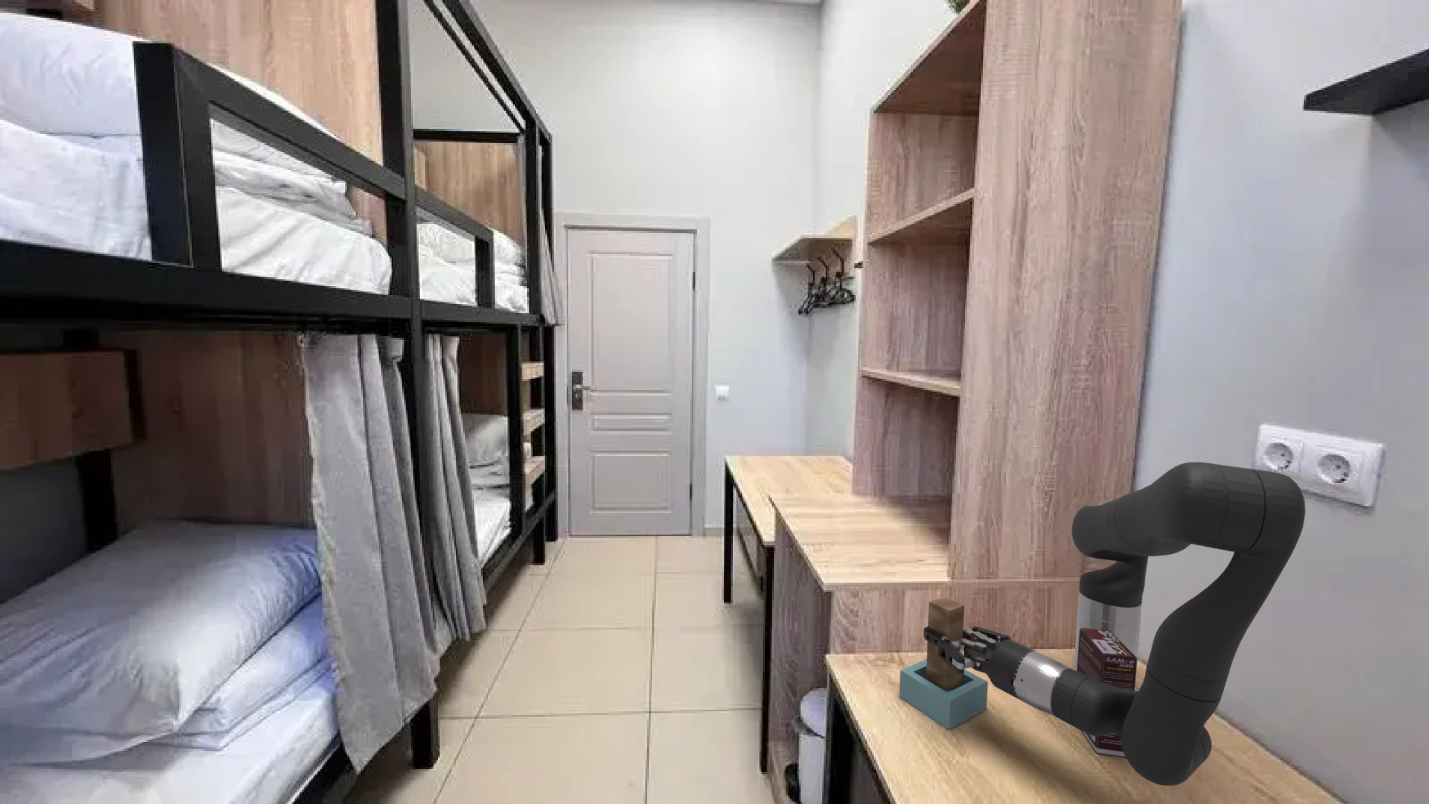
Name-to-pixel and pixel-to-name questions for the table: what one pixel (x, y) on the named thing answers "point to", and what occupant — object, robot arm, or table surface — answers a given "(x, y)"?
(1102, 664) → the supplement box
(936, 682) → the walnut post
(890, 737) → the table surface
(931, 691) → the well
